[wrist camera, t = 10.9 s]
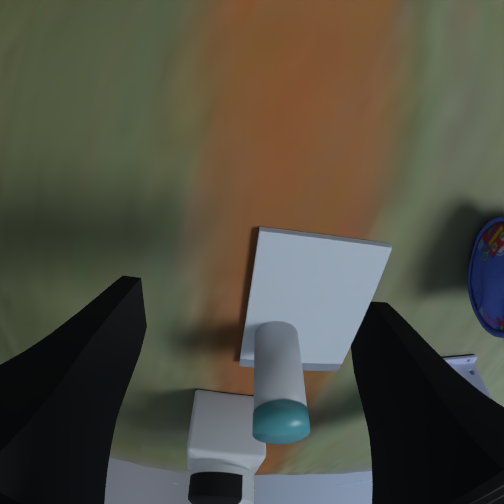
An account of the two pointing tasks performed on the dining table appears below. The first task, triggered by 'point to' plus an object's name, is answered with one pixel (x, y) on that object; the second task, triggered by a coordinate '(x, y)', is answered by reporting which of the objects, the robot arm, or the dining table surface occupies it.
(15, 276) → the dining table surface
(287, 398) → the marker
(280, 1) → the dining table surface
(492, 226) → the pencil case
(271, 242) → the note pad
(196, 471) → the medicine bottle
